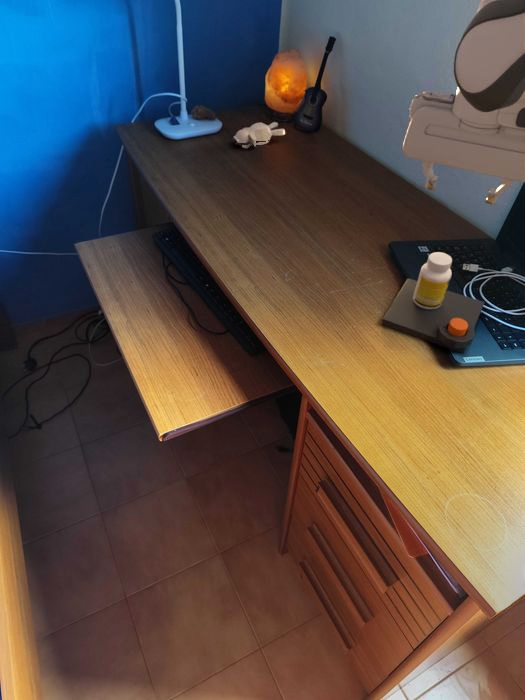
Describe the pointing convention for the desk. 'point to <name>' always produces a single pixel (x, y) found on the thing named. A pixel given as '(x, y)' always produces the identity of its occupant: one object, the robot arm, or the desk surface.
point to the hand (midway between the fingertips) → (459, 195)
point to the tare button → (457, 327)
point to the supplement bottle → (433, 281)
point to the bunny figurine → (257, 134)
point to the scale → (433, 317)
